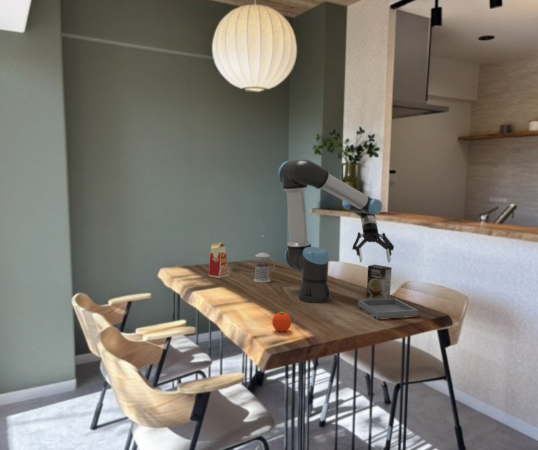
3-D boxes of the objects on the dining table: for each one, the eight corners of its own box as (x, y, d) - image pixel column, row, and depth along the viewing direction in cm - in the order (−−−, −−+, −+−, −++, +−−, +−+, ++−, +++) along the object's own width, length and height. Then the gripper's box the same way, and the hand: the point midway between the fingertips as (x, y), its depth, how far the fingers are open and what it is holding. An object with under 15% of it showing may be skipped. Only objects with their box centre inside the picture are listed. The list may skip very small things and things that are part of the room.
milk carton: (229, 275, 249) (229, 240, 247) (219, 278, 241) (219, 242, 239) (217, 273, 254) (217, 239, 251) (206, 276, 246) (206, 241, 244)
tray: (377, 320, 172) (378, 312, 172) (357, 307, 189) (358, 300, 189) (417, 317, 176) (418, 310, 176) (394, 304, 194) (395, 298, 193)
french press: (253, 278, 242) (254, 233, 240) (274, 278, 242) (275, 234, 240) (252, 282, 233) (253, 236, 230) (274, 282, 232) (274, 236, 230)
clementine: (271, 327, 162) (271, 308, 161) (289, 327, 162) (290, 308, 162) (272, 334, 154) (273, 315, 153) (292, 334, 154) (292, 315, 154)
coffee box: (365, 299, 201) (367, 265, 200) (372, 297, 206) (374, 264, 204) (383, 303, 195) (385, 268, 193) (390, 301, 200) (392, 266, 198)
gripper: (392, 231, 225) (399, 265, 212) (344, 230, 225) (348, 264, 212) (395, 222, 219) (402, 256, 206) (346, 221, 220) (350, 256, 206)
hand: (375, 260), depth 209 cm, fingers open, 13 cm apart
